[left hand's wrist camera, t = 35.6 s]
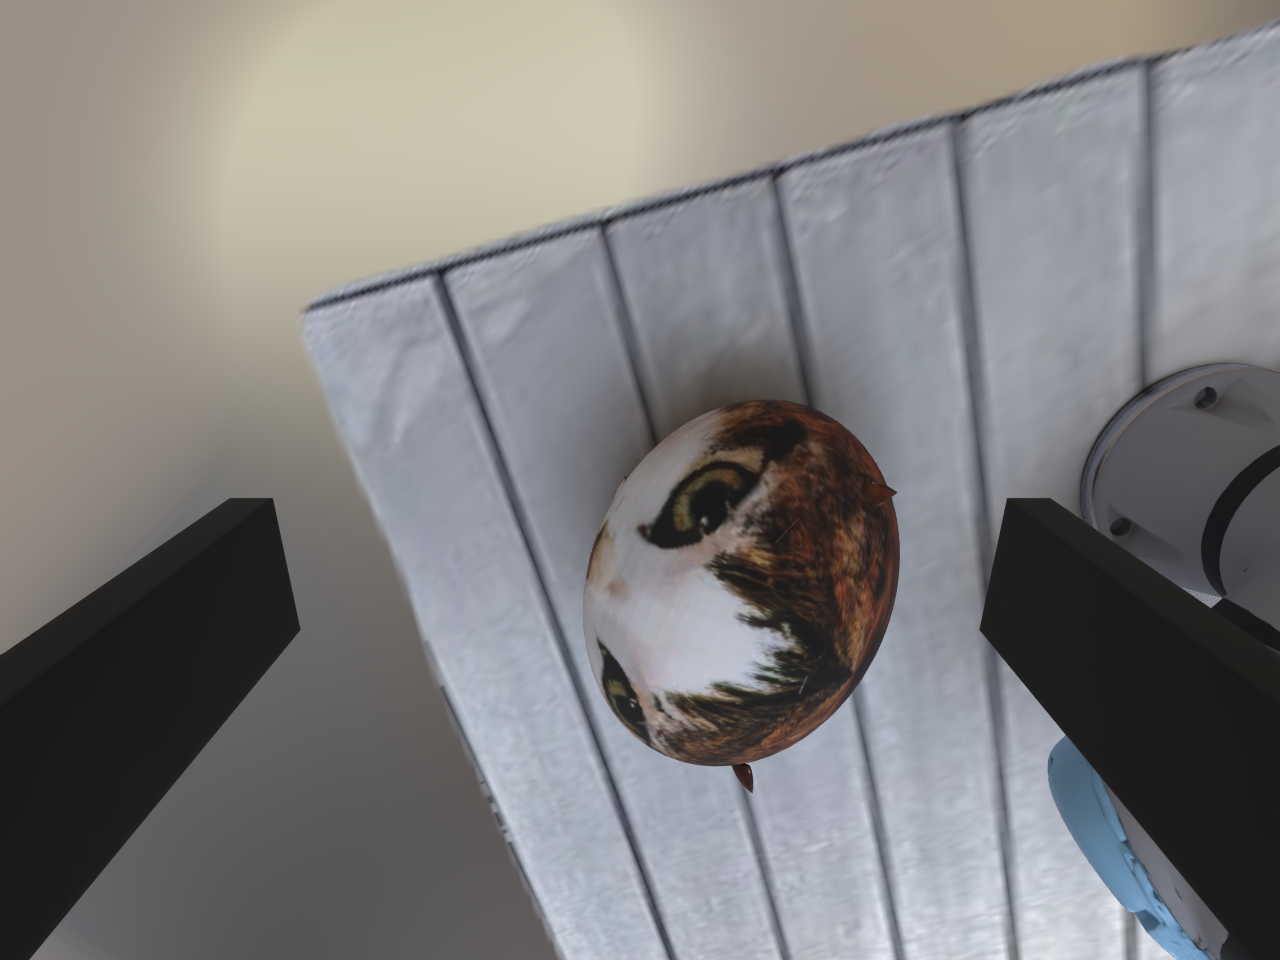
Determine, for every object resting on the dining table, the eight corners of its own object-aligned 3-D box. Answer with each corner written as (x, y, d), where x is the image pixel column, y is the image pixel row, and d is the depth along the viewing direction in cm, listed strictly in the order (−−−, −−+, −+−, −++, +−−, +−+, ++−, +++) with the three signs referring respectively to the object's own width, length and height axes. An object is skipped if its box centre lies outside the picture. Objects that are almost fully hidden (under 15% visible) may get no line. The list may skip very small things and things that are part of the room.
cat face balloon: (563, 317, 38) (856, 475, 25) (756, 360, 50) (1020, 481, 37) (468, 644, 45) (659, 901, 32) (657, 612, 57) (851, 788, 44)
